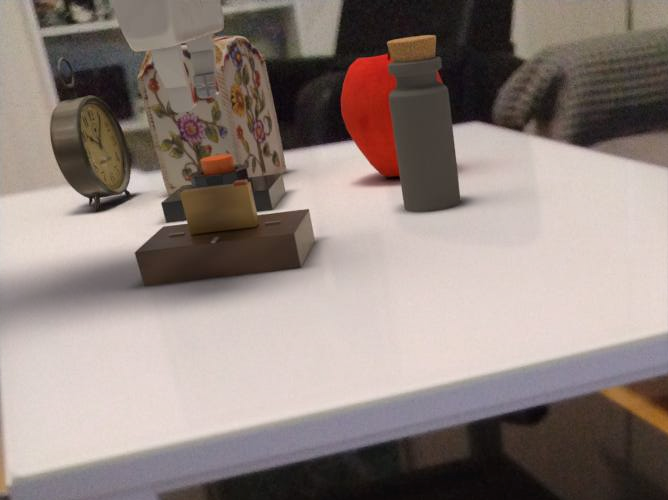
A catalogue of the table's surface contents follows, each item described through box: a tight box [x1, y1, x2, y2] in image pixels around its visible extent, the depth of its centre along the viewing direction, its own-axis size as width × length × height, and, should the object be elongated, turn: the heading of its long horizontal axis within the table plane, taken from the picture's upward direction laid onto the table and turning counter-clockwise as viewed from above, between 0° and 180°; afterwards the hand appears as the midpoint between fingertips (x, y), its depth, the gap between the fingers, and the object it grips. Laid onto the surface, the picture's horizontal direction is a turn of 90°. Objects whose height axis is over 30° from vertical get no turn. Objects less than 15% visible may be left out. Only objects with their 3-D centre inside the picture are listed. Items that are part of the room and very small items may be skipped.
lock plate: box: [134, 208, 316, 287], centre depth 92 cm, size 14×10×3 cm
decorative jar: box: [136, 33, 287, 196], centre depth 125 cm, size 12×12×18 cm
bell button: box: [200, 154, 236, 175], centre depth 114 cm, size 4×4×2 cm
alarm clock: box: [49, 56, 132, 213], centre depth 123 cm, size 11×5×16 cm, turn 171°
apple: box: [340, 47, 444, 178], centre depth 117 cm, size 12×12×13 cm
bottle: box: [386, 34, 461, 213], centre depth 101 cm, size 6×6×15 cm
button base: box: [160, 164, 287, 224], centre depth 116 cm, size 12×10×4 cm
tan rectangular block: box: [180, 179, 259, 235], centre depth 90 cm, size 6×2×4 cm, turn 91°
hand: (198, 103), depth 86 cm, fingers open, 8 cm apart
